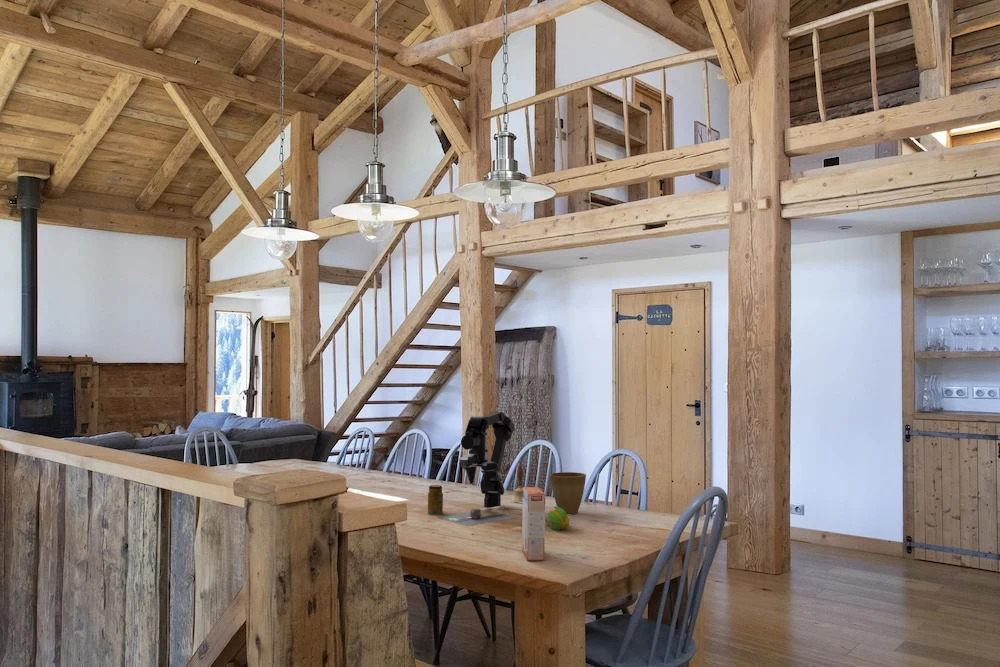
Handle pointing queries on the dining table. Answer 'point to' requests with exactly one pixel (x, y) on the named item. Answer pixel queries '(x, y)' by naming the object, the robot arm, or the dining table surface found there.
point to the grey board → (476, 521)
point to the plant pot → (568, 490)
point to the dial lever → (484, 512)
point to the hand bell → (519, 487)
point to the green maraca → (558, 519)
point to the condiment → (435, 500)
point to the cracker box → (533, 524)
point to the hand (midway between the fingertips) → (478, 485)
